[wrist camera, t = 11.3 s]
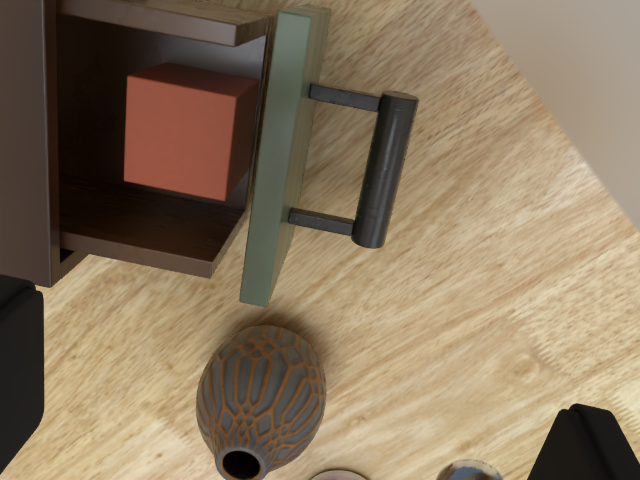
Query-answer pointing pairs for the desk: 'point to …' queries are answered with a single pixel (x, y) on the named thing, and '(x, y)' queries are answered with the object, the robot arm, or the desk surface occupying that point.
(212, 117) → the block
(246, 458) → the vase
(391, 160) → the drawer
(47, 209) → the cabinet
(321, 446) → the desk surface
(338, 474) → the pill bottle
